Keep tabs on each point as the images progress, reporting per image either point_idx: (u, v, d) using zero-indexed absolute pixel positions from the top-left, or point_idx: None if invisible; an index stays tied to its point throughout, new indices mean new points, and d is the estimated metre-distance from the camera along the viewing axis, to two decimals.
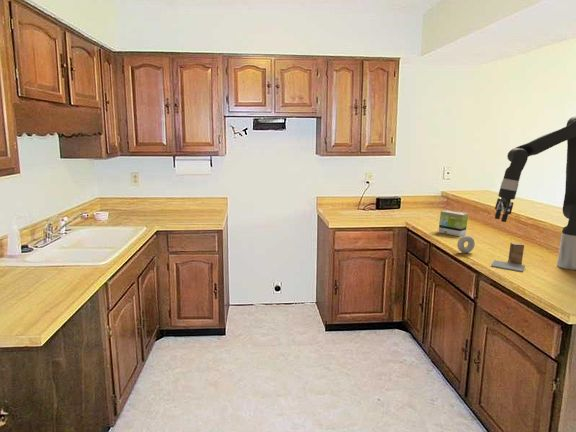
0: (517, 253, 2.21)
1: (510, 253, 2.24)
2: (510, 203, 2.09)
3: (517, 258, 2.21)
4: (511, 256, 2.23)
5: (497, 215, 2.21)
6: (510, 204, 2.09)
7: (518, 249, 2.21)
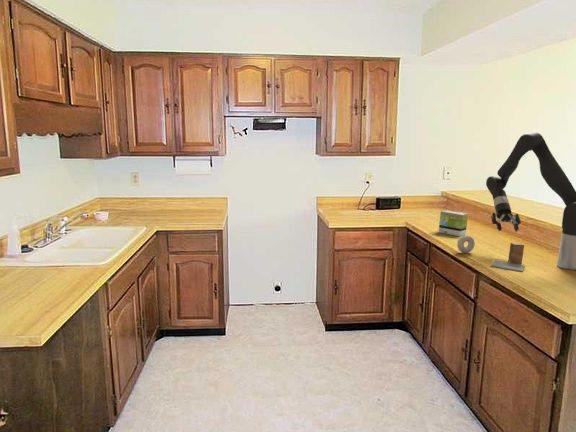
0: (517, 253, 2.21)
1: (510, 253, 2.24)
2: (491, 215, 2.38)
3: (517, 258, 2.21)
4: (511, 256, 2.23)
5: (515, 228, 2.34)
6: (492, 215, 2.38)
7: (518, 249, 2.21)
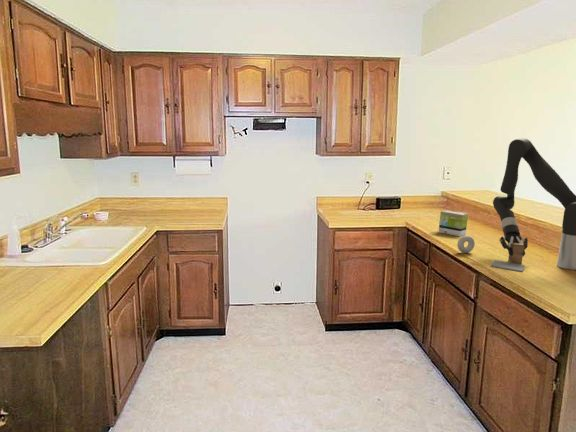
0: (517, 253, 2.21)
1: None
2: (500, 239, 2.27)
3: (517, 258, 2.21)
4: (511, 256, 2.23)
5: None
6: (500, 240, 2.27)
7: (518, 249, 2.21)
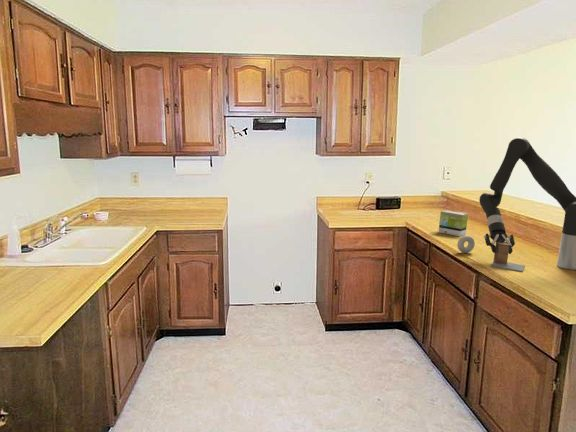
0: (502, 252, 2.18)
1: (495, 253, 2.21)
2: (485, 236, 2.24)
3: (502, 258, 2.18)
4: (496, 256, 2.20)
5: None
6: (485, 236, 2.23)
7: (503, 249, 2.17)
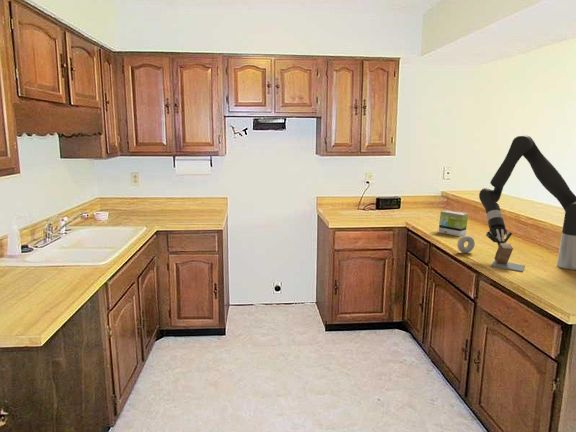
0: (504, 255, 2.15)
1: (497, 253, 2.18)
2: (487, 234, 2.24)
3: (503, 259, 2.17)
4: (497, 256, 2.18)
5: None
6: (488, 235, 2.23)
7: (506, 252, 2.14)
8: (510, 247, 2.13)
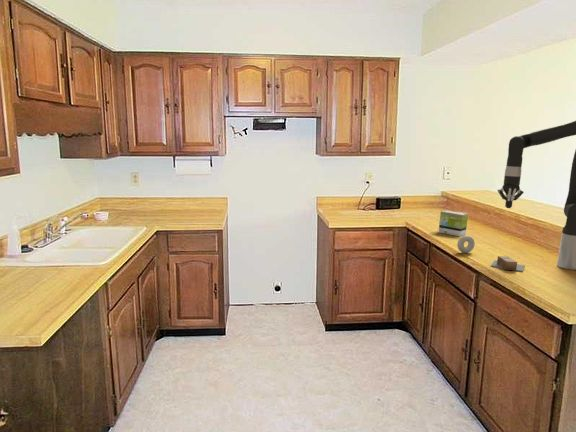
0: None
1: (501, 260, 2.14)
2: (498, 191, 2.28)
3: None
4: (500, 262, 2.15)
5: None
6: (499, 192, 2.27)
7: None
8: (514, 268, 2.08)
